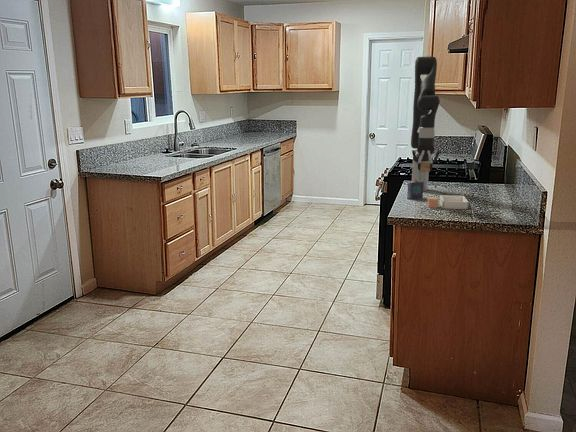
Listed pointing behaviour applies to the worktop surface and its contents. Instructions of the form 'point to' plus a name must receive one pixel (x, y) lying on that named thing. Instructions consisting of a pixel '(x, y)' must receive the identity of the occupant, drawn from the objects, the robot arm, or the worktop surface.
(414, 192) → the flask
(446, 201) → the tray
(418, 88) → the robot arm
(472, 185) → the worktop surface
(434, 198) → the terracotta block
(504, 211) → the worktop surface
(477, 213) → the worktop surface
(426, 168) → the walnut block
